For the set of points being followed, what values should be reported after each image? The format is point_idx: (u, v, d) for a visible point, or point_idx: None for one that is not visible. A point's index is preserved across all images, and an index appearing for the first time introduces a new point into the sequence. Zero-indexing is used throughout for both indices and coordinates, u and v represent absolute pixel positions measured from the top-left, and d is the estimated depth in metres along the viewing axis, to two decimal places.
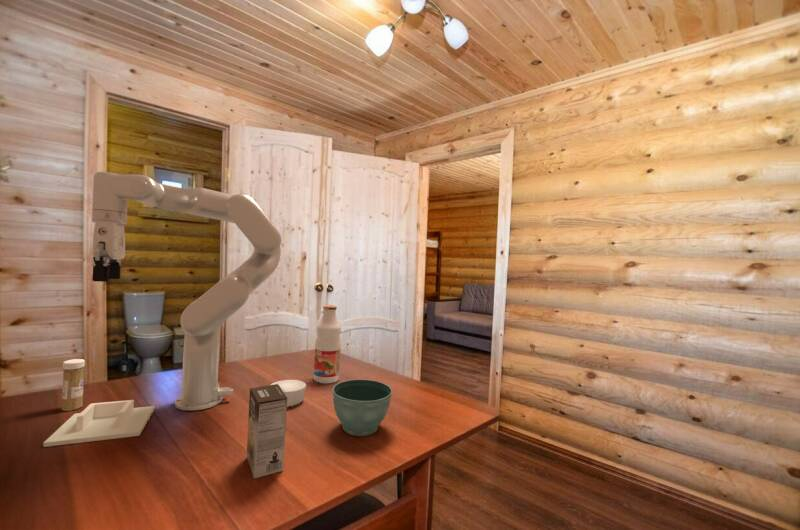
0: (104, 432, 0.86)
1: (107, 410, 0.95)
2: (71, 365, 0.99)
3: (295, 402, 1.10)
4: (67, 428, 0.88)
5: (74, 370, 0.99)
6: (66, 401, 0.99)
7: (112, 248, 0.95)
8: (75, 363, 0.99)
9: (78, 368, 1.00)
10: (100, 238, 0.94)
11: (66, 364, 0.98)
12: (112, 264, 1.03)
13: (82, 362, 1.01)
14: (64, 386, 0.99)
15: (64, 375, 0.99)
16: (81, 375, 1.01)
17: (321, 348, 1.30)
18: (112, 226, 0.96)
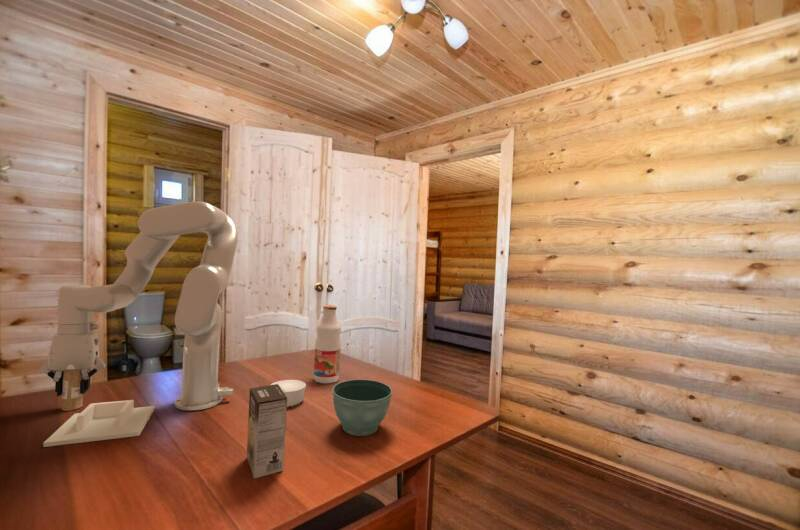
0: (104, 432, 0.86)
1: (107, 410, 0.95)
2: (71, 365, 0.99)
3: (295, 402, 1.10)
4: (67, 428, 0.88)
5: (74, 370, 0.99)
6: (66, 401, 0.99)
7: None
8: None
9: None
10: (96, 348, 1.02)
11: None
12: (62, 379, 1.00)
13: None
14: (64, 386, 0.99)
15: (64, 375, 0.99)
16: (81, 375, 1.01)
17: (321, 348, 1.30)
18: None
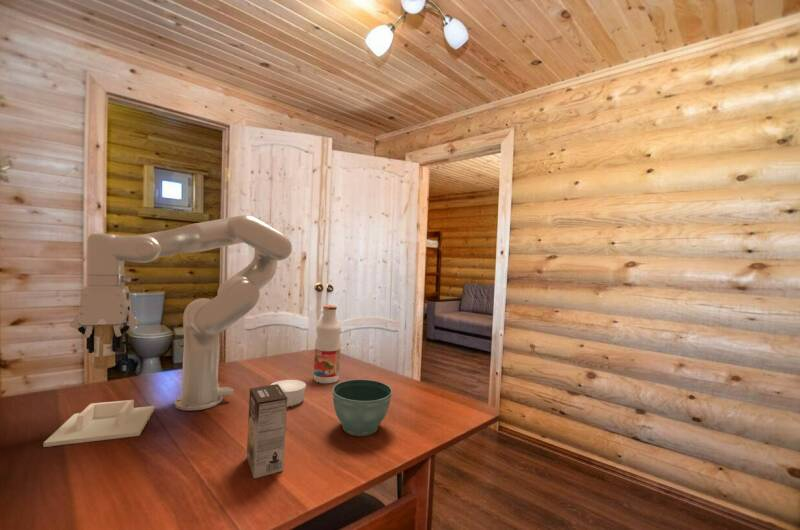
0: (104, 432, 0.86)
1: (107, 410, 0.95)
2: (102, 320, 0.91)
3: (295, 402, 1.10)
4: (67, 428, 0.88)
5: (105, 325, 0.92)
6: (98, 358, 0.91)
7: None
8: None
9: None
10: (128, 303, 0.94)
11: None
12: (93, 335, 0.92)
13: None
14: (96, 342, 0.91)
15: (95, 331, 0.91)
16: (113, 331, 0.93)
17: (321, 348, 1.30)
18: None
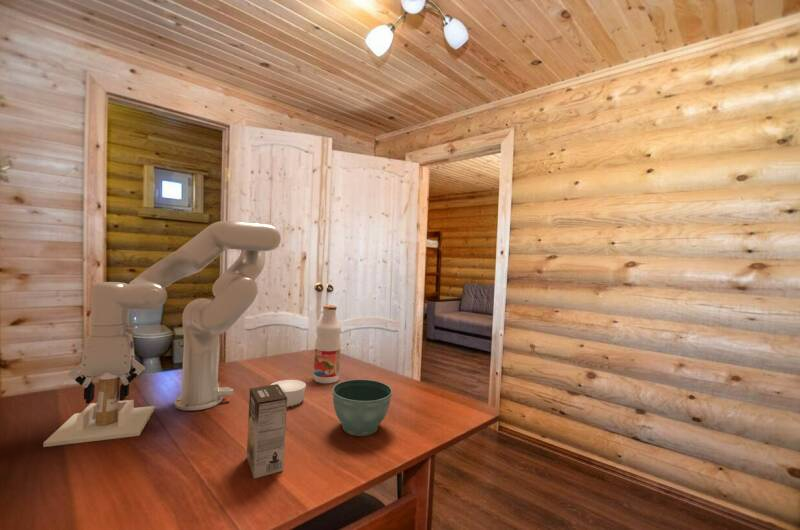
0: (104, 432, 0.86)
1: None
2: (108, 375, 0.90)
3: (295, 402, 1.10)
4: (67, 428, 0.88)
5: (110, 380, 0.90)
6: (101, 414, 0.90)
7: None
8: None
9: (115, 378, 0.91)
10: (131, 352, 0.93)
11: None
12: (91, 385, 0.90)
13: None
14: (99, 398, 0.90)
15: (99, 386, 0.90)
16: (117, 386, 0.92)
17: (321, 348, 1.30)
18: None
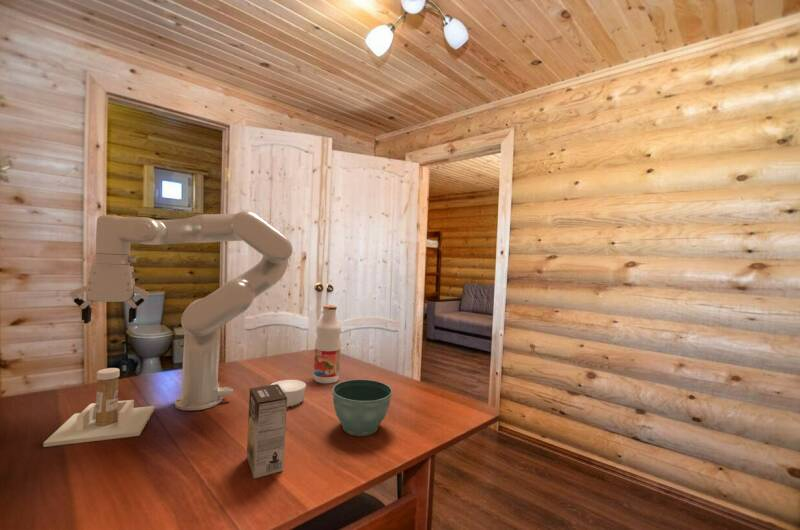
0: (104, 432, 0.86)
1: None
2: (106, 376, 0.90)
3: (295, 402, 1.10)
4: (67, 428, 0.88)
5: (109, 380, 0.90)
6: (101, 415, 0.90)
7: None
8: (110, 373, 0.90)
9: (113, 378, 0.91)
10: (133, 282, 1.01)
11: (100, 374, 0.89)
12: (88, 307, 0.97)
13: (117, 372, 0.92)
14: (98, 398, 0.90)
15: (98, 386, 0.90)
16: (116, 386, 0.92)
17: (321, 348, 1.30)
18: None
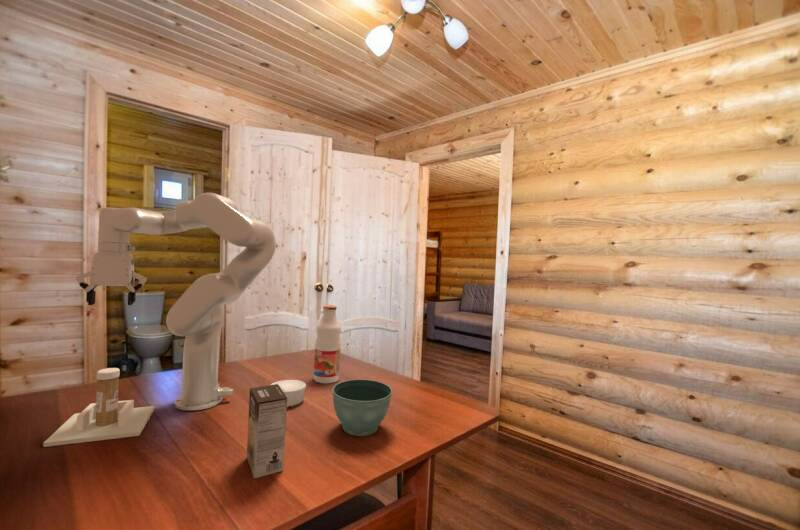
0: (104, 432, 0.86)
1: None
2: (106, 375, 0.90)
3: (295, 402, 1.10)
4: (67, 428, 0.88)
5: (109, 380, 0.90)
6: (101, 414, 0.90)
7: None
8: (110, 373, 0.90)
9: (113, 378, 0.91)
10: (132, 268, 1.11)
11: (101, 374, 0.89)
12: (92, 290, 1.07)
13: (117, 371, 0.92)
14: (98, 398, 0.90)
15: (98, 386, 0.90)
16: (116, 386, 0.92)
17: (321, 348, 1.30)
18: None
